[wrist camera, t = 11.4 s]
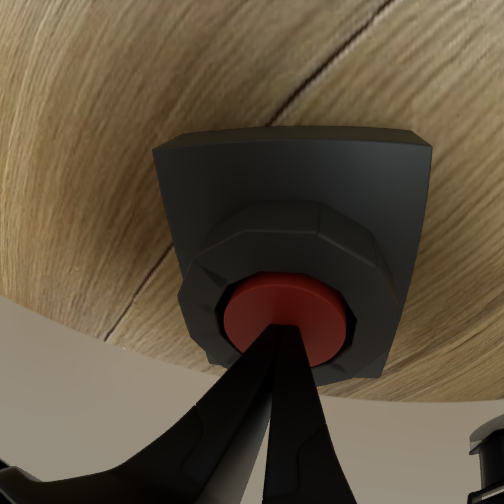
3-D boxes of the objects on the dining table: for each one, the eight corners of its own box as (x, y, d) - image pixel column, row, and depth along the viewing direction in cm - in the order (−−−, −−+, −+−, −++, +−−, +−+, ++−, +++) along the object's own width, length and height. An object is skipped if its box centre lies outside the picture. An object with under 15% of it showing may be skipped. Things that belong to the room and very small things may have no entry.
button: (340, 333, 10) (339, 372, 9) (244, 327, 11) (232, 362, 10) (350, 250, 9) (353, 288, 7) (231, 246, 9) (213, 280, 8)
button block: (377, 342, 14) (381, 412, 10) (222, 331, 16) (196, 394, 12) (412, 130, 8) (459, 165, 5) (181, 133, 10) (116, 168, 7)
